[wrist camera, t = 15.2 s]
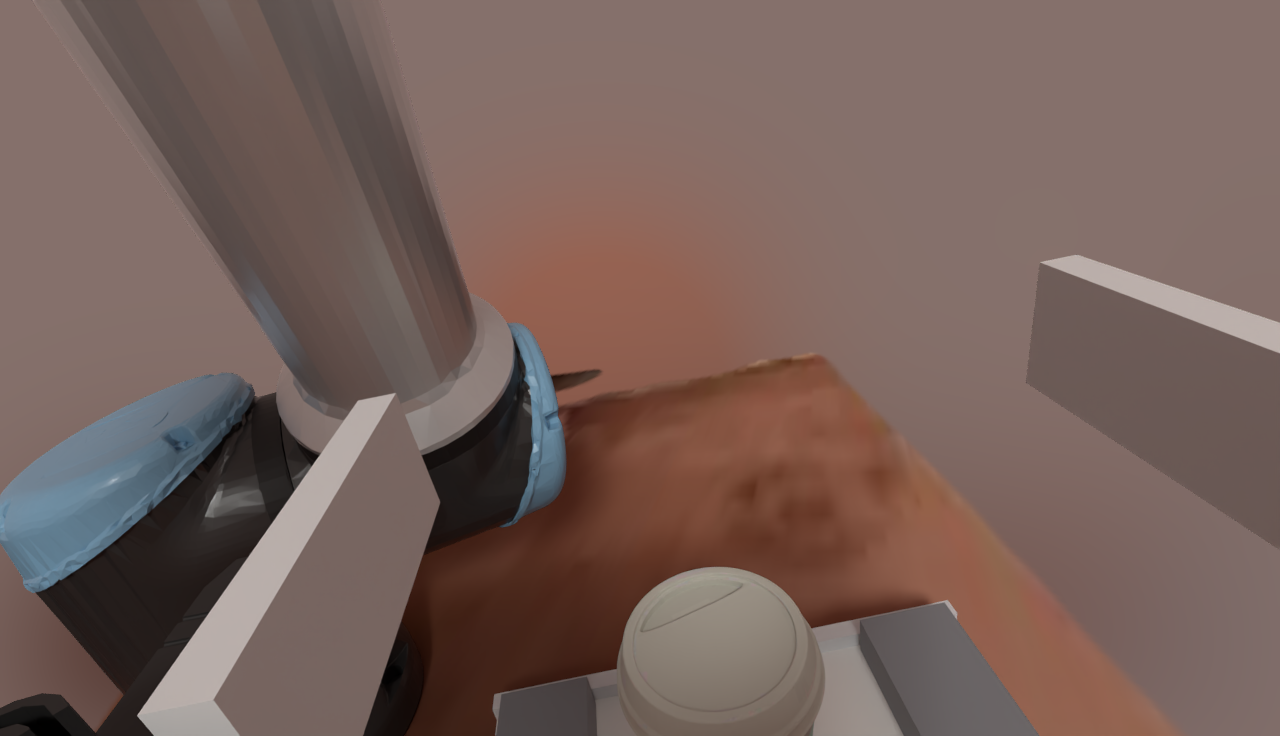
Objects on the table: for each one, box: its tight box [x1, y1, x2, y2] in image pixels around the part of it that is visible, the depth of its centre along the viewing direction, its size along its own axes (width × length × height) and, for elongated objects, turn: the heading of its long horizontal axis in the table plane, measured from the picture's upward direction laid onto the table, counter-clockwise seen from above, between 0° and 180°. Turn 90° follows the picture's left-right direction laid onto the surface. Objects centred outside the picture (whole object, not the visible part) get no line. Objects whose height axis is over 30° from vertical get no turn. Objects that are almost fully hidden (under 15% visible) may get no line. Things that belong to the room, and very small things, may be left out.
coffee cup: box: [617, 567, 825, 736], centre depth 27 cm, size 9×8×12 cm
